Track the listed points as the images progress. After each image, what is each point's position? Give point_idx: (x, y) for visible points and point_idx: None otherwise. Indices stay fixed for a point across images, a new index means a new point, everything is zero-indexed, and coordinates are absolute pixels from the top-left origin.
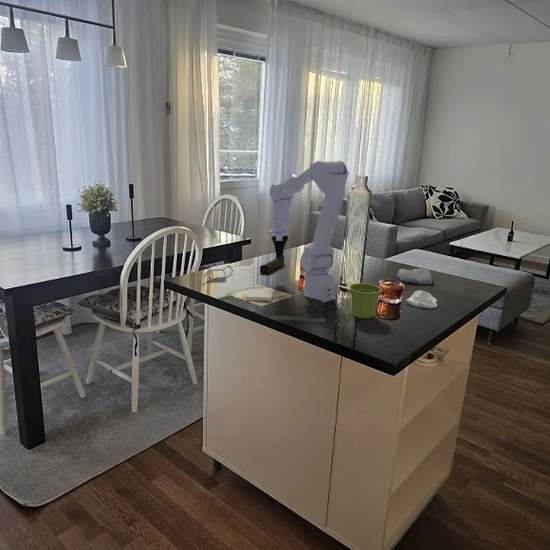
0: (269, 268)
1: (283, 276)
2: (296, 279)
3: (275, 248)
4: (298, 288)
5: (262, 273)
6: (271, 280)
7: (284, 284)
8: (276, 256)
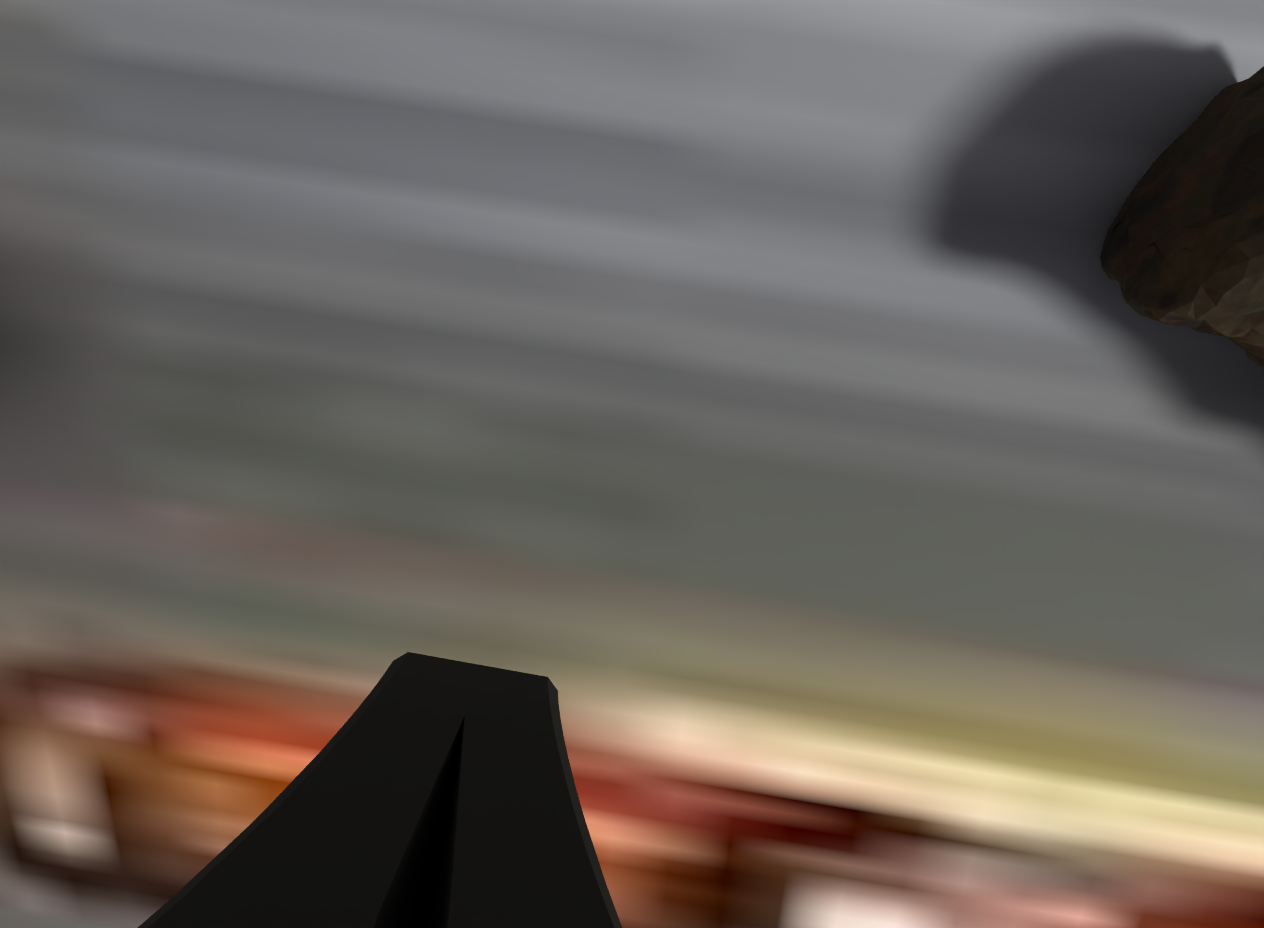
0: (1154, 317)
1: (908, 543)
2: (681, 723)
3: (171, 912)
4: (139, 663)
5: (1197, 121)
6: (650, 260)
7: (366, 475)
8: (396, 660)
